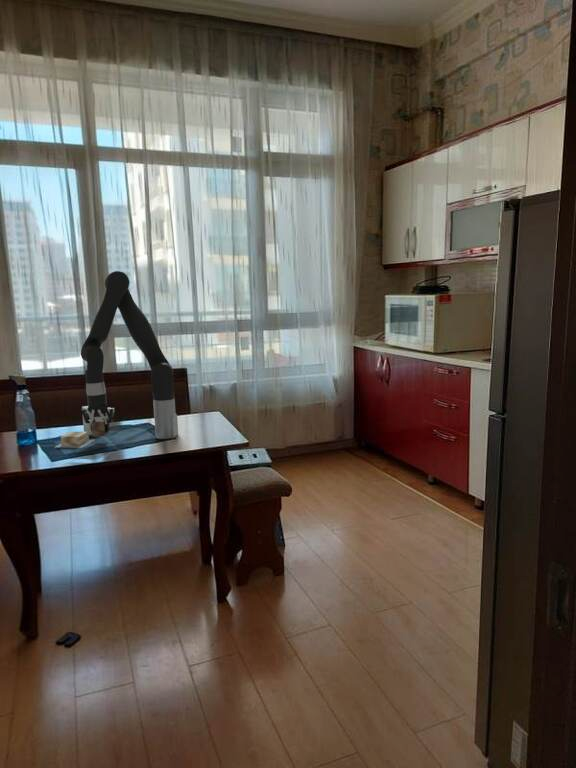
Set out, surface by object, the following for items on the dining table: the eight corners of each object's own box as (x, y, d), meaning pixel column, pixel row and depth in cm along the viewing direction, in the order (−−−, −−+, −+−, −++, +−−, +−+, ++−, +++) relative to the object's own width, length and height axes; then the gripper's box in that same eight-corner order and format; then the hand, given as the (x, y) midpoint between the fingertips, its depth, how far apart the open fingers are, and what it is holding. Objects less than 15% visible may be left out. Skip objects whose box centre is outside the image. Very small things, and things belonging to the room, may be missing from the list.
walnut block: (109, 433, 219) (107, 419, 218) (104, 436, 214) (102, 422, 213) (98, 433, 220) (96, 419, 219) (92, 436, 215) (91, 422, 214)
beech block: (89, 440, 221) (88, 431, 220) (79, 446, 213) (78, 436, 212) (71, 440, 222) (70, 431, 221) (61, 445, 214) (60, 436, 213)
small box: (103, 435, 234) (101, 407, 232) (89, 437, 230) (87, 409, 228) (97, 431, 240) (95, 404, 238) (83, 434, 237) (81, 406, 234)
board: (95, 442, 223) (95, 439, 223) (82, 450, 211) (81, 447, 211) (69, 441, 224) (69, 439, 224) (54, 450, 212) (54, 447, 212)
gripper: (116, 390, 217) (120, 429, 220) (84, 391, 218) (88, 430, 221) (109, 394, 210) (113, 434, 213) (75, 395, 211) (80, 435, 214)
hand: (100, 432), depth 217 cm, fingers closed on walnut block, 5 cm apart
